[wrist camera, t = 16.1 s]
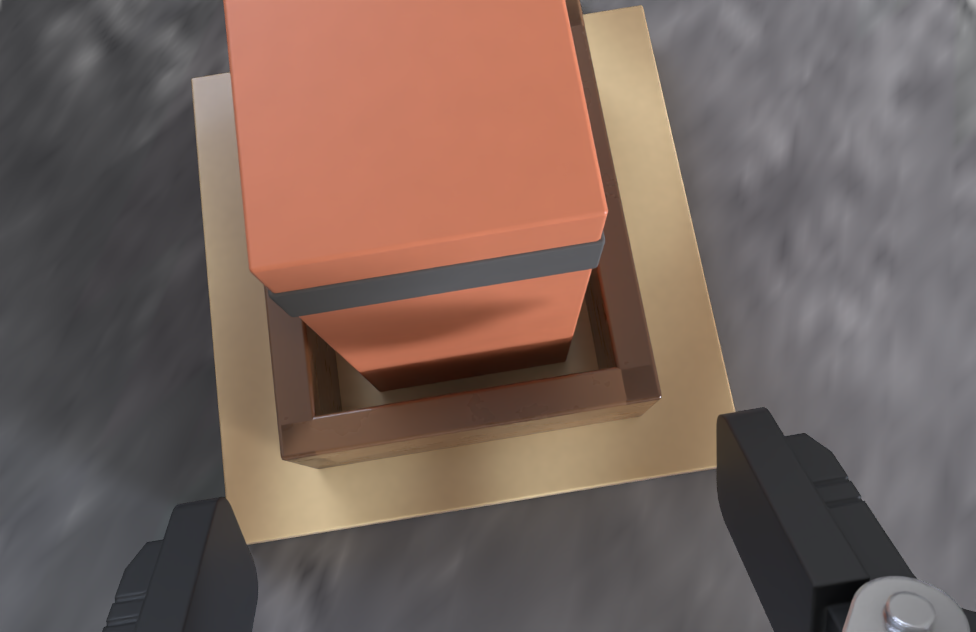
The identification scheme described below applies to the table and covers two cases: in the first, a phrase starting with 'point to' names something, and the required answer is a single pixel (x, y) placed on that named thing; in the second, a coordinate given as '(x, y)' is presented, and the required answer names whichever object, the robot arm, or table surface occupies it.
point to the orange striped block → (418, 178)
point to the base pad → (487, 398)
